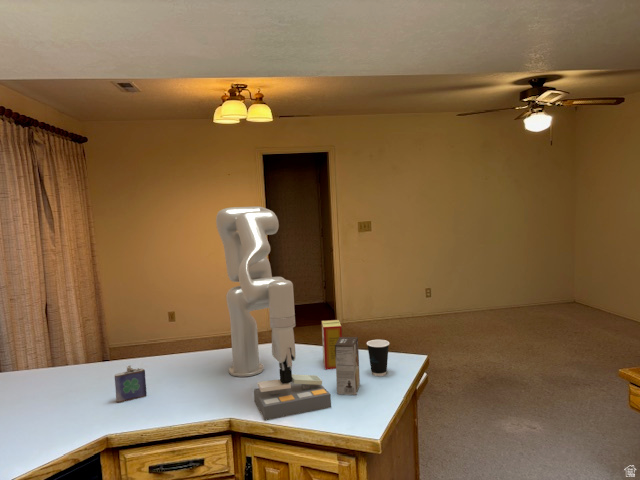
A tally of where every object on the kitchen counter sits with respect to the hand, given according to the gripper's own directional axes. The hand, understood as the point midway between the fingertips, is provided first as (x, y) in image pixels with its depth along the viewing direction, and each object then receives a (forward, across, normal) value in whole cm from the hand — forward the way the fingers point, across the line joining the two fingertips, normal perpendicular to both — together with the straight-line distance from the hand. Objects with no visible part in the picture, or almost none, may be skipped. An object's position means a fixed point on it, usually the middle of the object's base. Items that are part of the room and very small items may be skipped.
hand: (286, 381), depth 142 cm
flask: (+7, -27, -44) cm, 53 cm away
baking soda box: (+7, -26, +26) cm, 38 cm away
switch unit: (+7, 0, +1) cm, 7 cm away
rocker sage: (+1, -1, +6) cm, 6 cm away
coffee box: (+7, -3, +21) cm, 23 cm away
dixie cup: (+7, -10, +36) cm, 39 cm away
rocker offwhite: (+1, -1, -4) cm, 4 cm away
